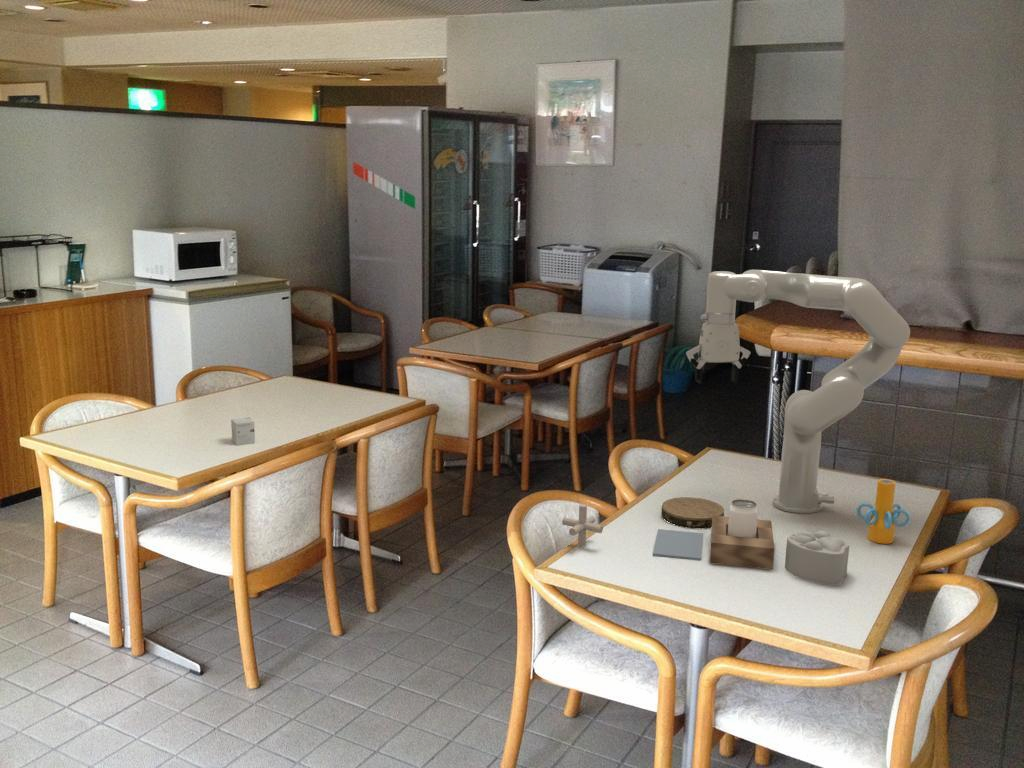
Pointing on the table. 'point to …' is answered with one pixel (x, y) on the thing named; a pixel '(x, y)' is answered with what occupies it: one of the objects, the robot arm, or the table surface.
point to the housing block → (742, 545)
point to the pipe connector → (582, 525)
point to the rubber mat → (678, 544)
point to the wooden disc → (691, 512)
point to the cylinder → (883, 514)
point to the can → (743, 518)
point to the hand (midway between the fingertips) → (716, 382)
